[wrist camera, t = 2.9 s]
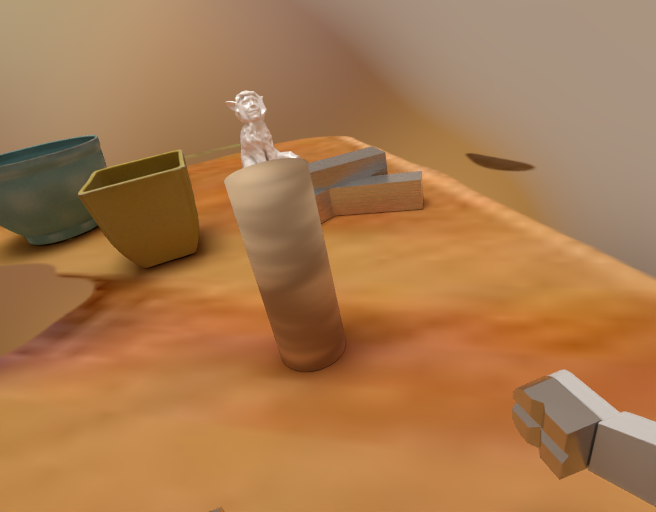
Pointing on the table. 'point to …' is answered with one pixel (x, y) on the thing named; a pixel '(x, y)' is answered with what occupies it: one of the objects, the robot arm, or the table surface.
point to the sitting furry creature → (255, 130)
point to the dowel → (289, 259)
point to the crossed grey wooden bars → (363, 185)
